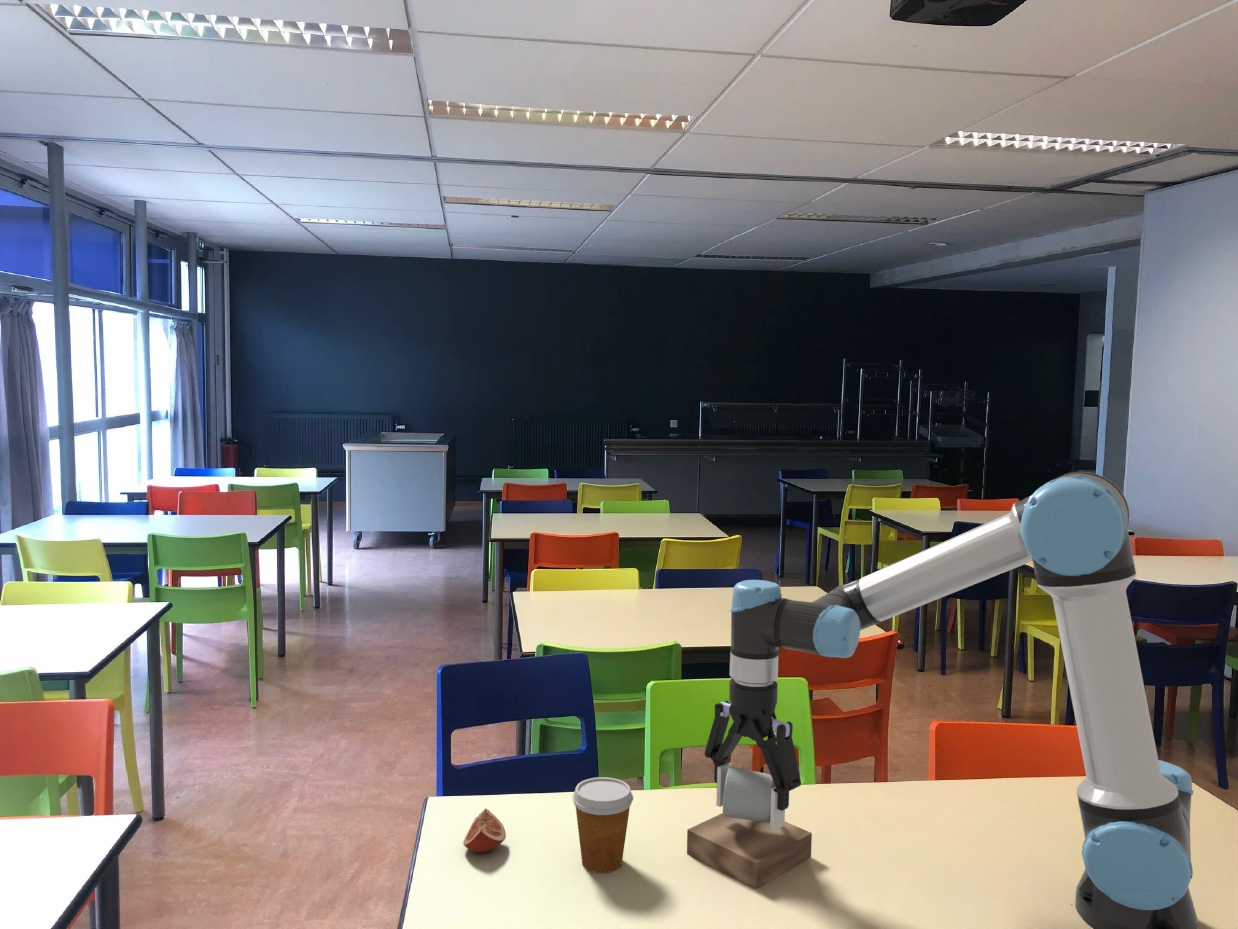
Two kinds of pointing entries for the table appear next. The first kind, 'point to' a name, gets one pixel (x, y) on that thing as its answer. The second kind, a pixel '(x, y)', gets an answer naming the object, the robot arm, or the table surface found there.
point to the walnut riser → (748, 848)
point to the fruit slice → (485, 833)
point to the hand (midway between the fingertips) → (749, 815)
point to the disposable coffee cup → (602, 821)
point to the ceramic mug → (747, 795)
